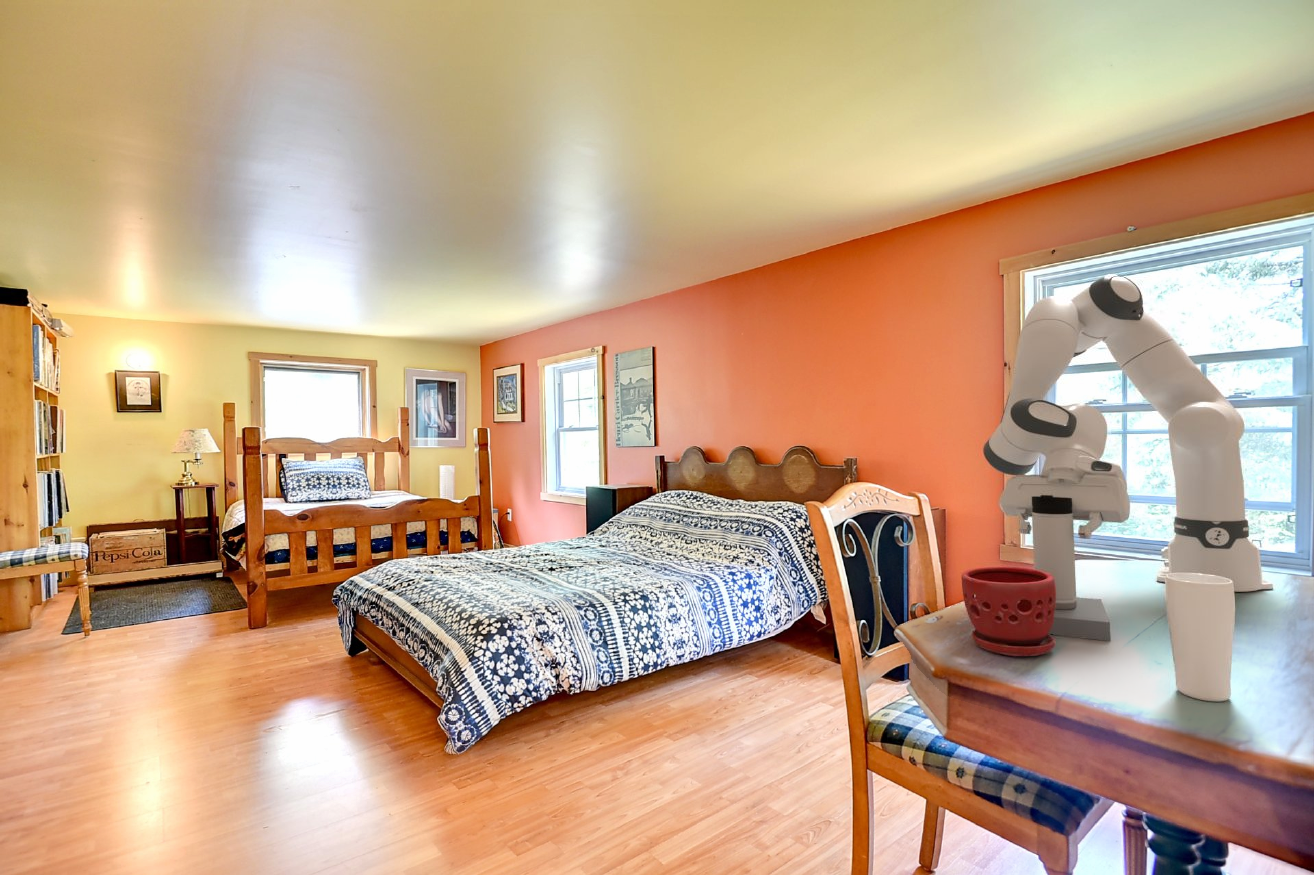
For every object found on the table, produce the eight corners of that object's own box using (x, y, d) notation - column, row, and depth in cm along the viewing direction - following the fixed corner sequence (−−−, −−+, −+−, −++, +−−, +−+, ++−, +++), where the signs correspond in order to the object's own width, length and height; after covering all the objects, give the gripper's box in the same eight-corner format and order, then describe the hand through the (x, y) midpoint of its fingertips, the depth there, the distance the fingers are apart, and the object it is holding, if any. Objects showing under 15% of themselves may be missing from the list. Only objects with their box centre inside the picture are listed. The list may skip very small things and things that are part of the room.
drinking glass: (1245, 696, 80) (1240, 577, 80) (1230, 710, 76) (1225, 586, 76) (1178, 680, 86) (1174, 570, 86) (1161, 693, 82) (1156, 578, 82)
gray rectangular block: (1014, 607, 123) (1013, 592, 123) (1101, 615, 116) (1101, 599, 116) (1011, 630, 110) (1011, 613, 110) (1110, 641, 102) (1109, 622, 102)
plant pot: (1013, 632, 109) (1010, 562, 109) (1079, 657, 96) (1076, 578, 96) (946, 639, 106) (943, 568, 106) (1005, 666, 93) (1002, 585, 93)
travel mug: (1030, 606, 113) (1025, 494, 113) (1041, 599, 118) (1036, 491, 118) (1071, 612, 108) (1066, 496, 109) (1080, 604, 113) (1076, 493, 113)
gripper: (1004, 464, 125) (986, 519, 119) (1130, 465, 110) (1117, 527, 103) (1014, 485, 128) (996, 539, 122) (1138, 488, 113) (1125, 551, 106)
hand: (1053, 534), depth 112 cm, fingers open, 8 cm apart
